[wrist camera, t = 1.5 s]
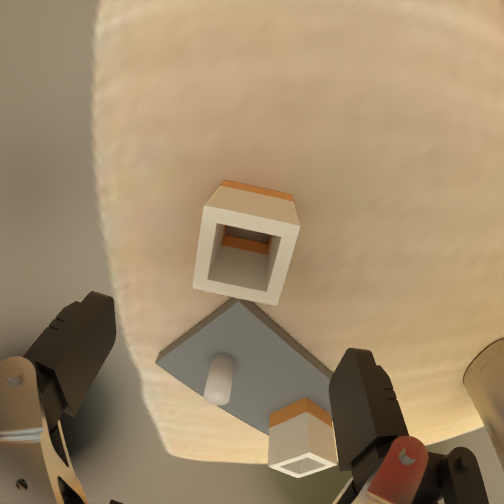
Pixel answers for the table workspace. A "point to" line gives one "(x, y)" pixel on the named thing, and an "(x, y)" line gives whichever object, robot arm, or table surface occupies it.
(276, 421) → the pin board
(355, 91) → the table surface
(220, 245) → the sleeve
